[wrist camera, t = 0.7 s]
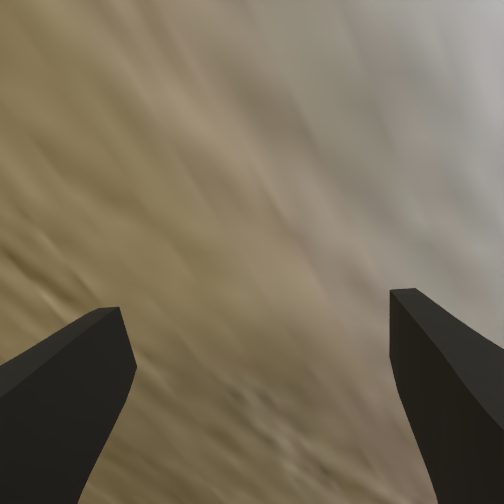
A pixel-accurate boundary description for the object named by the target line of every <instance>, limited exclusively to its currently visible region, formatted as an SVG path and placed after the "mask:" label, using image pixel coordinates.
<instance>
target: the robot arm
mask: <svg viewBox="0 0 504 504" xmlns="http://www.w3.org/2000/svg"><path fill="white" fill-rule="evenodd" d="M389 356H390V361H391V365H392V369H393V374H394V378H395V382H396V386H397V390H398V393H399V396H400V399H401V401H402V404H403V407H404V410H405V412H406V415H407V418H408V420H409V423H410V426H411V428H412V431H413V433H414V436H415V439H416V441H417V444H418V447H419V449H420V452H421V455H422V457H423V460H424V462H425V465H426V468H427V470H428V473H429V476H430V479H431V482H432V485H433V488H434V491H435V494H436V497H437V500H438V504H504V349H503V348H501V347H499V346H498V345H496V344H494V343H493V342H491V341H490V340H488V339H486V338H485V337H483V336H482V335H480V334H479V333H477V332H476V331H474V330H473V329H471V328H470V327H468V326H467V325H465V324H464V323H463V322H461V321H460V320H458V319H457V318H455V317H454V316H453V315H451V314H450V313H449V312H447V311H446V310H444V309H443V308H442V307H440V306H439V305H438V304H436V303H435V302H434V301H432V300H431V299H430V298H428V297H427V296H426V295H424V294H423V293H422V292H420V291H419V290H417V289H416V288H410V289H394V290H390V352H389ZM136 368H137V365H136V361H135V358H134V355H133V351H132V348H131V345H130V341H129V338H128V335H127V331H126V328H125V325H124V321H123V318H122V315H121V311H120V308H119V307H109V308H98V309H96V310H94V311H91V312H90V313H88V314H86V315H84V316H82V317H81V318H79V319H77V320H75V321H74V322H72V323H70V324H69V325H67V326H66V327H64V328H62V329H61V330H59V331H57V332H56V333H54V334H53V335H51V336H49V337H48V338H46V339H45V340H43V341H41V342H40V343H38V344H36V345H35V346H33V347H32V348H30V349H28V350H27V351H25V352H23V353H21V354H20V355H18V356H16V357H15V358H13V359H11V360H9V361H8V362H6V363H4V364H3V365H1V366H0V504H77V503H78V501H79V498H80V495H81V493H82V491H83V488H84V486H85V484H86V482H87V479H88V477H89V475H90V473H91V471H92V469H93V467H94V465H95V463H96V461H97V459H98V457H99V455H100V453H101V451H102V449H103V447H104V445H105V443H106V441H107V439H108V437H109V435H110V433H111V431H112V429H113V427H114V425H115V423H116V420H117V418H118V416H119V414H120V412H121V410H122V408H123V406H124V404H125V402H126V399H127V396H128V394H129V391H130V388H131V385H132V382H133V378H134V375H135V372H136Z"/></svg>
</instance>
